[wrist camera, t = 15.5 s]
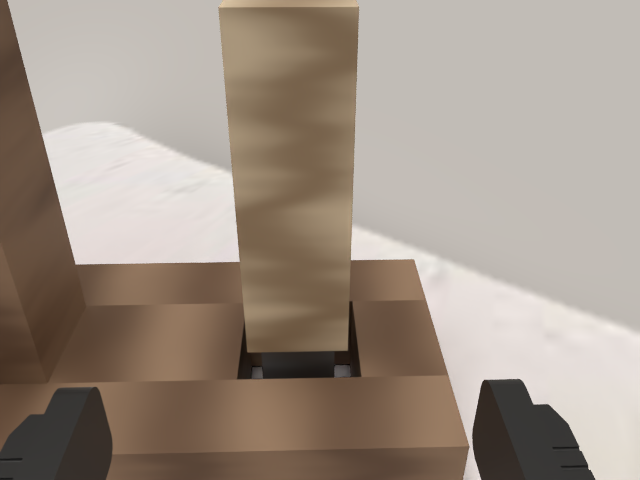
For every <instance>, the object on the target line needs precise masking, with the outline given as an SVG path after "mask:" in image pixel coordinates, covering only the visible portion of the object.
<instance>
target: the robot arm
mask: <svg viewBox="0 0 640 480" xmlns="http://www.w3.org/2000/svg"><path fill="white" fill-rule="evenodd" d="M472 439H473V450H474V456H475V460H476V463H477V467H478V470H479V473H480V477H481V480H595V478H594V476H593V474H592V472H591V470H589V469H588V464H587V462H586V460H585V458H584V455H583V453H582V451H580V450H579V445H578V443H577V441H576V439H575V437H574V435H573V433H572V431H571V429H570V427H569V425H568V423H567V422H566V421H565V420H564V419H563V418H562V417H561V416H560V415H559V414H558V413H557V412H556V411H555V410H554V409H553V408H552V407H551V406H550V405H549V404H542V405H533V403H532V400H531V398H530V396H529V393H528V391H527V389H526V387H525V385H524V383H523V382H522V381H521V380H520V379H505V380H484V381H483V382H482V385H481V390H480V395H479V400H478V405H477V410H476V415H475V420H474V425H473V434H472ZM112 450H113V442H112V435H111V431H110V427H109V423H108V420H107V416H106V412H105V408H104V405H103V401H102V397H101V394H100V391H99V389H98V388H97V387H64V388H58V389H57V390H56V391H55V392H54V394H53V396H52V398H51V400H50V402H49V404H48V406H47V409H46V411H45V413H44V414H30V415H29V416H28V417H27V418H26V419H25V420H24V421H23V422H22V423H21V424H20V425H19V426H18V427H17V428H16V429H15V430H14V431H13V432H12V433H11V434H10V435H9V436H8V438H7V440H6V442H5V444H4V445H3V447H2V449H1V451H0V480H106V478H107V474H108V471H109V468H110V464H111V459H112Z"/></svg>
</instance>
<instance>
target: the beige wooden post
mask: <svg viewBox="0 0 640 480" xmlns="http://www.w3.org/2000/svg"><path fill="white" fill-rule="evenodd" d="M218 8H219V20H220V31H221V43H222V55H223V67H224V79H225V91H226V103H227V115H228V127H229V139H230V150H231V163H232V175H233V187H234V199H235V211H236V222H237V234H238V246H239V258H240V270H241V282H242V294H243V306H244V318H245V330H246V342H247V353H249V352H261V356H262V370H263V379H291V378H334V351H348V326H349V296H350V265H351V235H352V204H353V173H354V143H355V113H356V112H355V111H356V82H357V52H358V51H357V49H358V19H359V6H358V4H357V1H356V0H223V1H222V3H221V4H220V6H219V7H218Z"/></svg>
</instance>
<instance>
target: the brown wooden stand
mask: <svg viewBox="0 0 640 480" xmlns="http://www.w3.org/2000/svg"><path fill="white" fill-rule="evenodd" d="M334 364H350V367H351V377H340V378H291V379H250V377H251V367H252V366H262V356H261V352H249V353H247V342H246V330H245V318H244V306H243V294H242V282H241V270H240V262H217V263H152V264H87V265H75V261H74V257H73V253H72V249H71V246H70V242H69V238H68V234H67V230H66V226H65V222H64V218H63V215H62V211H61V207H60V203H59V199H58V195H57V191H56V187H55V184H54V180H53V176H52V172H51V168H50V164H49V160H48V157H47V153H46V149H45V145H44V141H43V137H42V133H41V129H40V126H39V122H38V118H37V114H36V110H35V107H34V102H33V99H32V95H31V91H30V87H29V83H28V79H27V75H26V72H25V67H24V64H23V60H22V56H21V52H20V49H19V44H18V40H17V37H16V33H15V29H14V25H13V21H12V17H11V13H10V9H9V6H8V2H7V0H0V451H1V449H2V447H3V445H4V444H5V442H6V440H7V438H8V436H9V435H10V434H11V433H12V432H13V431H14V430H15V429H16V428H17V427H18V426H19V425H20V424H21V423H22V422H23V421H24V420H25V419H26V418H27V417H28V416H29V415H30V414H44V413H45V411H46V409H47V406H48V404H49V402H50V400H51V398H52V396H53V394H54V392H55V391H56V390H57V389H58V388H64V387H97V388H98V389H99V391H100V394H101V397H102V401H103V405H104V408H105V412H106V416H107V420H108V423H109V427H110V431H111V435H112V442H113V450H112V459H111V464H110V468H109V471H108V474H107V478H106V480H463V476H464V471H465V466H466V460H467V455H468V450H469V444H468V440H467V437H466V434H465V430H464V427H463V423H462V420H461V417H460V413H459V410H458V407H457V403H456V400H455V396H454V393H453V390H452V386H451V383H450V380H449V376H448V373H447V369H446V366H445V363H444V359H443V356H442V352H441V349H440V346H439V342H438V339H437V336H436V332H435V329H434V325H433V322H432V319H431V315H430V312H429V309H428V305H427V302H426V298H425V295H424V292H423V288H422V285H421V282H420V278H419V275H418V271H417V268H416V265H415V261H414V259H411V260H351V265H350V296H349V326H348V351H334Z"/></svg>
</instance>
